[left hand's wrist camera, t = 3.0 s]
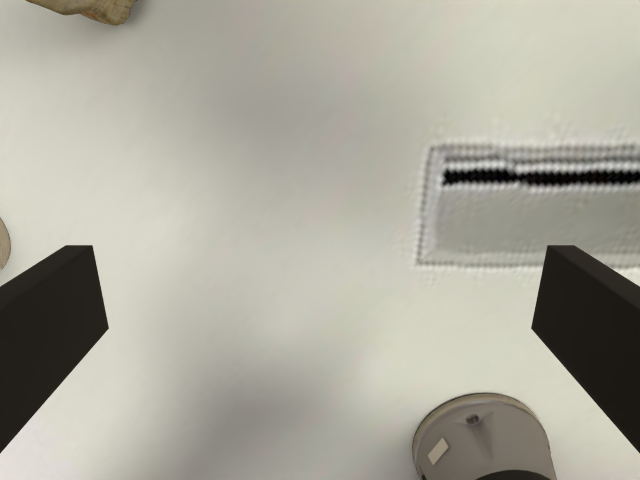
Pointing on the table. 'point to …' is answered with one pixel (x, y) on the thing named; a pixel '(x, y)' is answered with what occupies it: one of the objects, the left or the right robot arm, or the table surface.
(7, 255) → the jar
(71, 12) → the sculpture
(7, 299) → the left robot arm
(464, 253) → the table surface
